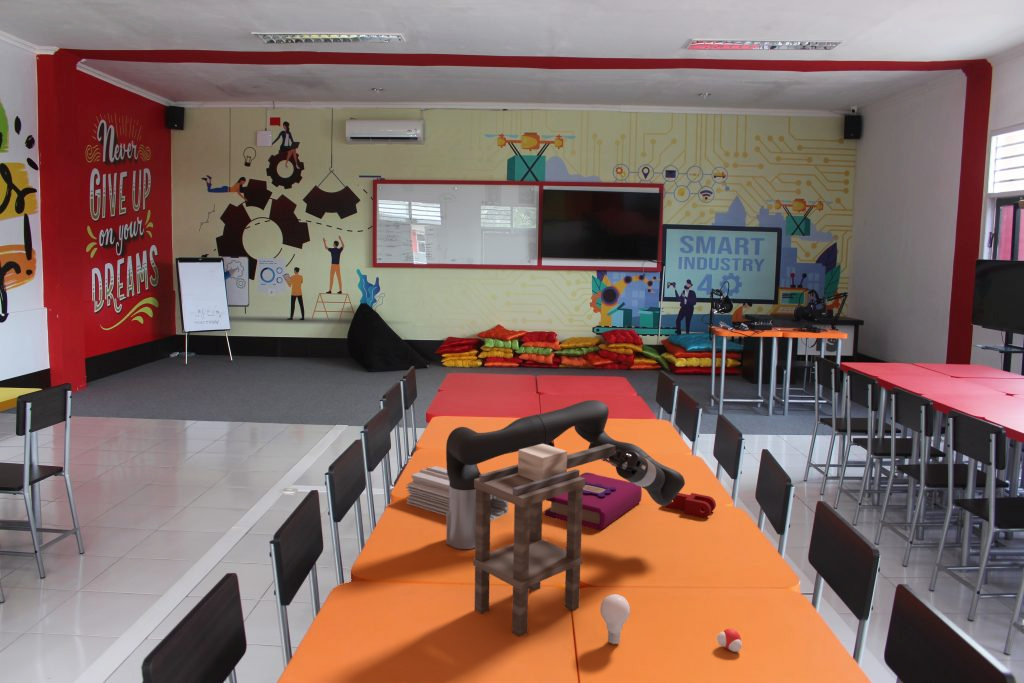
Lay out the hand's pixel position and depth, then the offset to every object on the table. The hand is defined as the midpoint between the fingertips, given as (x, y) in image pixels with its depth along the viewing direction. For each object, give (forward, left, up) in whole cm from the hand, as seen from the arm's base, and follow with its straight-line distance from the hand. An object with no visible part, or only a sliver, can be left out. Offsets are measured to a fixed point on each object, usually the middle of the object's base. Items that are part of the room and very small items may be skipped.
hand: (603, 449), depth 189 cm
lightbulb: (+9, -30, -34) cm, 46 cm away
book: (-10, +46, -35) cm, 59 cm away
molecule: (+33, -24, -34) cm, 53 cm away
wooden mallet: (-6, -9, -2) cm, 11 cm away
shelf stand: (-13, -22, -34) cm, 42 cm away
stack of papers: (-52, +33, -35) cm, 71 cm away
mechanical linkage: (+18, +56, -35) cm, 68 cm away
